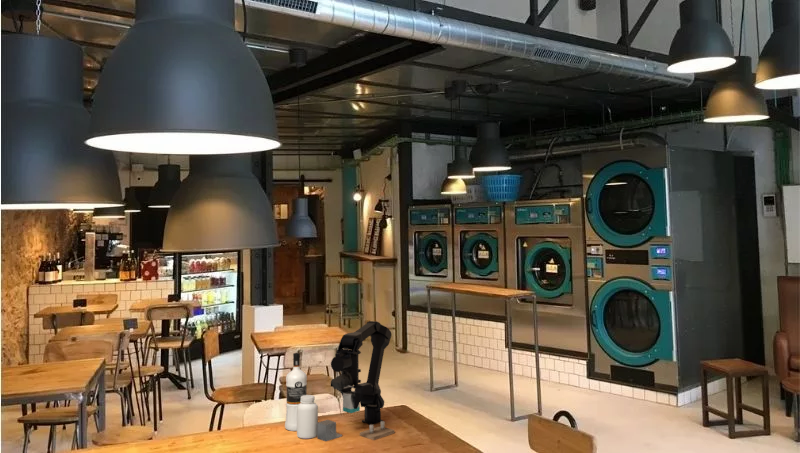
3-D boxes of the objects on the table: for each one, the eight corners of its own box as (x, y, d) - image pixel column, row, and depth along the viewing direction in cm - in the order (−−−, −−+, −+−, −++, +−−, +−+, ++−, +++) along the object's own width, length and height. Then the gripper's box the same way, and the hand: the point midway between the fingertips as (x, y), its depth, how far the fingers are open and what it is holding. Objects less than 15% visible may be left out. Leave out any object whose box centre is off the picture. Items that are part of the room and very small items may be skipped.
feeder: (317, 438, 214) (317, 422, 214) (333, 433, 220) (333, 417, 220) (325, 441, 210) (325, 425, 211) (342, 436, 216) (342, 420, 217)
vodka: (307, 423, 233) (307, 350, 234) (309, 430, 224) (308, 354, 225) (284, 425, 230) (284, 351, 232) (285, 432, 221) (285, 355, 223)
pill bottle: (321, 434, 219) (321, 395, 220) (310, 440, 212) (310, 400, 213) (304, 431, 223) (304, 393, 223) (292, 437, 215) (292, 397, 216)
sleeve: (342, 411, 219) (342, 392, 220) (351, 408, 223) (351, 390, 223) (350, 413, 216) (350, 394, 217) (359, 410, 220) (359, 392, 220)
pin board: (359, 435, 217) (359, 424, 217) (380, 428, 225) (379, 418, 225) (374, 440, 211) (374, 428, 212) (394, 433, 219) (394, 422, 220)
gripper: (319, 367, 221) (319, 407, 220) (351, 373, 208) (351, 416, 207) (341, 362, 229) (341, 401, 228) (373, 369, 216) (373, 410, 215)
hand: (351, 407), depth 220 cm, fingers closed on sleeve, 5 cm apart
